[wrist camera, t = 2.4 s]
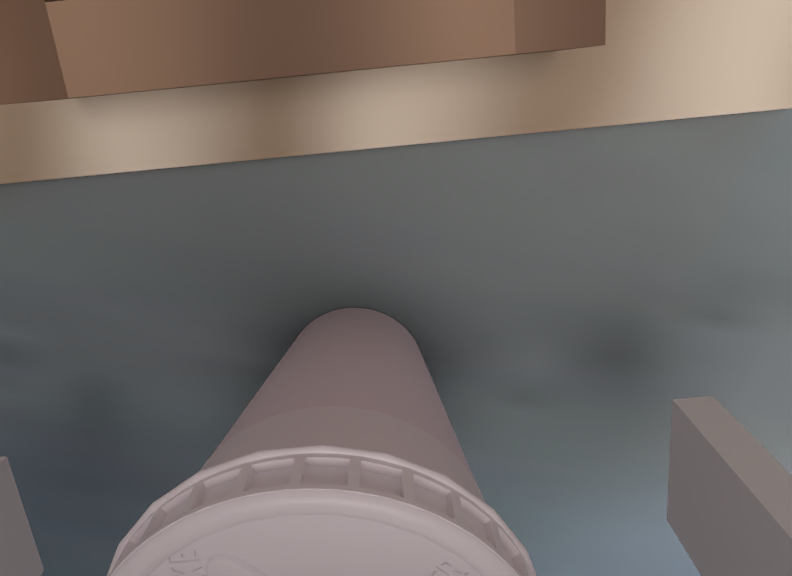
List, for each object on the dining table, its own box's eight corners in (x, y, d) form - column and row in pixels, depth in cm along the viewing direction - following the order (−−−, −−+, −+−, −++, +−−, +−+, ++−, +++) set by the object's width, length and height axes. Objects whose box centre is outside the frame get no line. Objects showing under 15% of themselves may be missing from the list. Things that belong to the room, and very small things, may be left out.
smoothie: (432, 494, 19) (532, 1488, 6) (215, 441, 18) (-244, 1419, 5) (505, 295, 17) (919, 1096, 4) (266, 228, 16) (-263, 904, 3)
